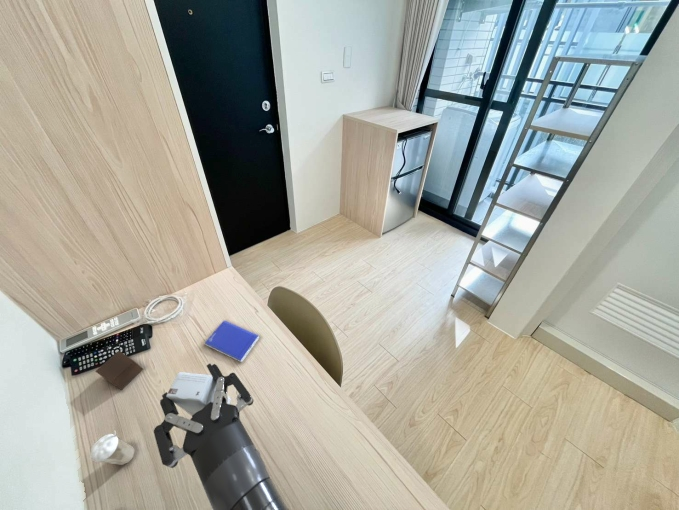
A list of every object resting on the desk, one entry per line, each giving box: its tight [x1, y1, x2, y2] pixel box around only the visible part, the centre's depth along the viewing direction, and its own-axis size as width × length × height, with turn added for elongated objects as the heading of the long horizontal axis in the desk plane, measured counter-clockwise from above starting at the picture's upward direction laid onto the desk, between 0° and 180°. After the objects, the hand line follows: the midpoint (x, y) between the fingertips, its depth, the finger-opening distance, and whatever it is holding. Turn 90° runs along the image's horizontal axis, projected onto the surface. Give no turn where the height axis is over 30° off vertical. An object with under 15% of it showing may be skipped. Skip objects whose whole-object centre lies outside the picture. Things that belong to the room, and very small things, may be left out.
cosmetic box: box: [166, 371, 232, 417], centre depth 49 cm, size 6×4×12 cm
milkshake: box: [89, 428, 136, 466], centre depth 55 cm, size 4×5×10 cm
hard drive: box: [204, 320, 260, 363], centre depth 77 cm, size 2×8×12 cm
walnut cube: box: [95, 350, 144, 391], centre depth 69 cm, size 6×6×5 cm
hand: (188, 380), depth 47 cm, fingers closed on cosmetic box, 7 cm apart
